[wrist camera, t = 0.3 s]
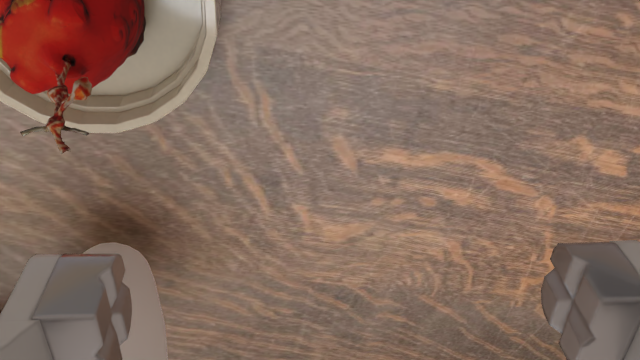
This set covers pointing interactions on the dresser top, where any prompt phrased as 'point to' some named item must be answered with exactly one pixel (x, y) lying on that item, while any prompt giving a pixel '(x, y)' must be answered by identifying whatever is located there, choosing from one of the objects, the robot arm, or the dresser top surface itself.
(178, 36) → the bowl
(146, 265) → the cup
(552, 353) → the dresser top surface
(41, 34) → the red daruma ornament
